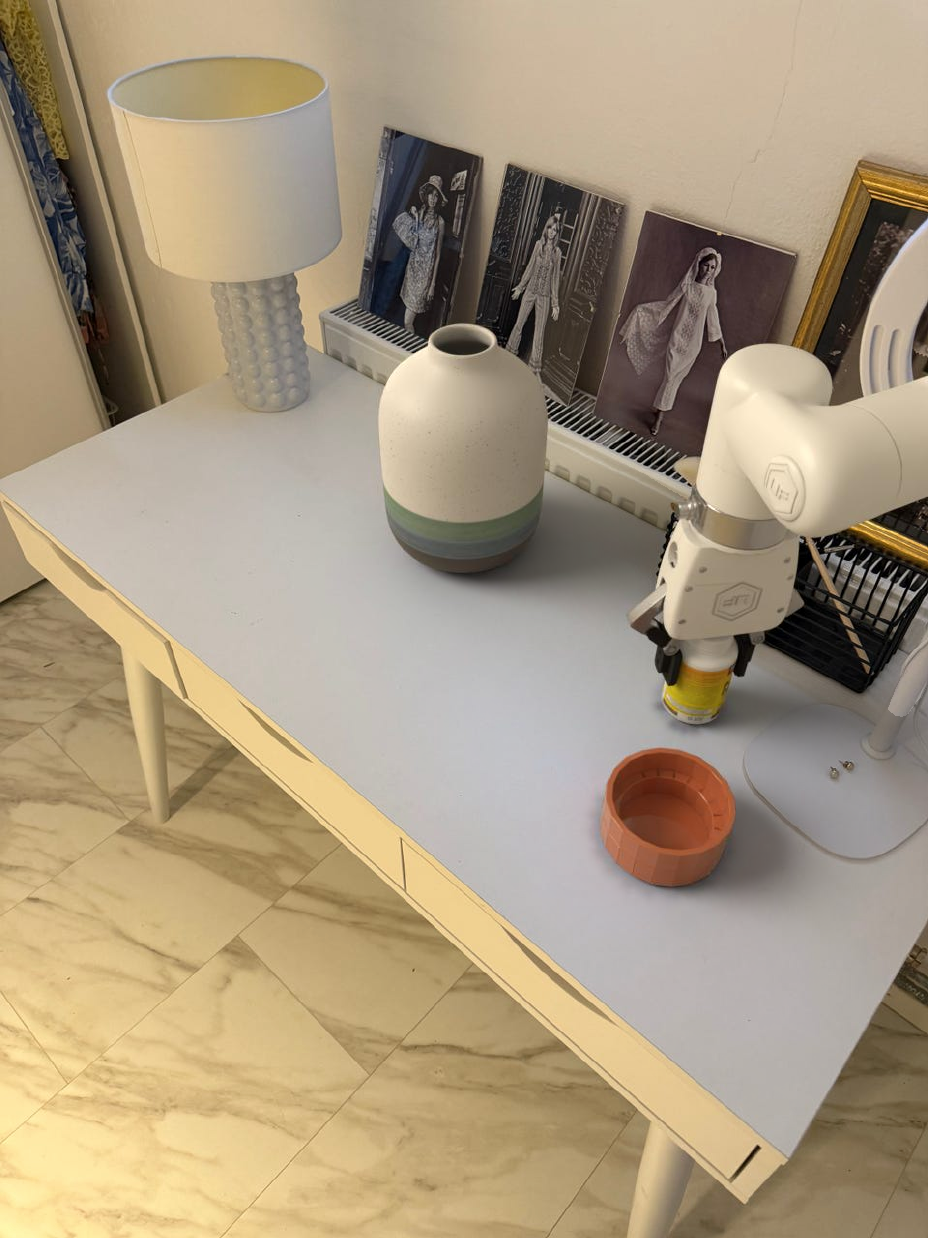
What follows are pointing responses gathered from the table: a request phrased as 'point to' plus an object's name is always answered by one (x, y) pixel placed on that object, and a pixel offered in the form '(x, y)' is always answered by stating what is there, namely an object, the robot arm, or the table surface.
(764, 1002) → the table surface
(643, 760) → the bowl
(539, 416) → the vase
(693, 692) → the supplement bottle
